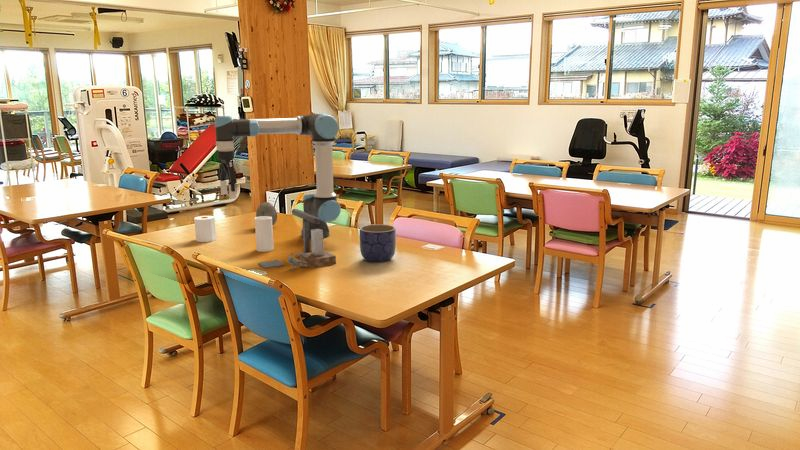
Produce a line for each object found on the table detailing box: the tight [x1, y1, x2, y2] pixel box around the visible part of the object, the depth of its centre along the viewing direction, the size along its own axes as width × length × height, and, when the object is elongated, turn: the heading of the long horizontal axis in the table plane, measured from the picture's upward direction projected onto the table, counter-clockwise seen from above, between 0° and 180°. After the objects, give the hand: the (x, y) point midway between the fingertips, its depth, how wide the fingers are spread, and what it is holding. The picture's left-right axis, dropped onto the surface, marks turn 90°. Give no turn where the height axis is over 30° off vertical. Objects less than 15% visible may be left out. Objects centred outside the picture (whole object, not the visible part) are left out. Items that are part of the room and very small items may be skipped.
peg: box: [310, 229, 325, 257], centre depth 254 cm, size 4×4×15 cm
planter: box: [359, 223, 397, 263], centre depth 258 cm, size 16×16×15 cm
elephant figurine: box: [286, 252, 308, 272], centre depth 246 cm, size 10×6×9 cm
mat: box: [257, 259, 286, 270], centre depth 252 cm, size 9×9×1 cm
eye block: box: [299, 249, 337, 269], centre depth 255 cm, size 12×12×4 cm
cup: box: [254, 216, 275, 253], centre depth 276 cm, size 8×8×16 cm
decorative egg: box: [255, 201, 278, 227], centre depth 323 cm, size 12×12×15 cm
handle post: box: [295, 220, 312, 259], centre depth 263 cm, size 8×8×17 cm
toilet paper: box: [193, 215, 217, 243], centre depth 296 cm, size 10×10×12 cm
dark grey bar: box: [291, 208, 320, 224], centre depth 261 cm, size 3×28×4 cm, turn 33°
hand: (228, 196), depth 263 cm, fingers open, 13 cm apart
